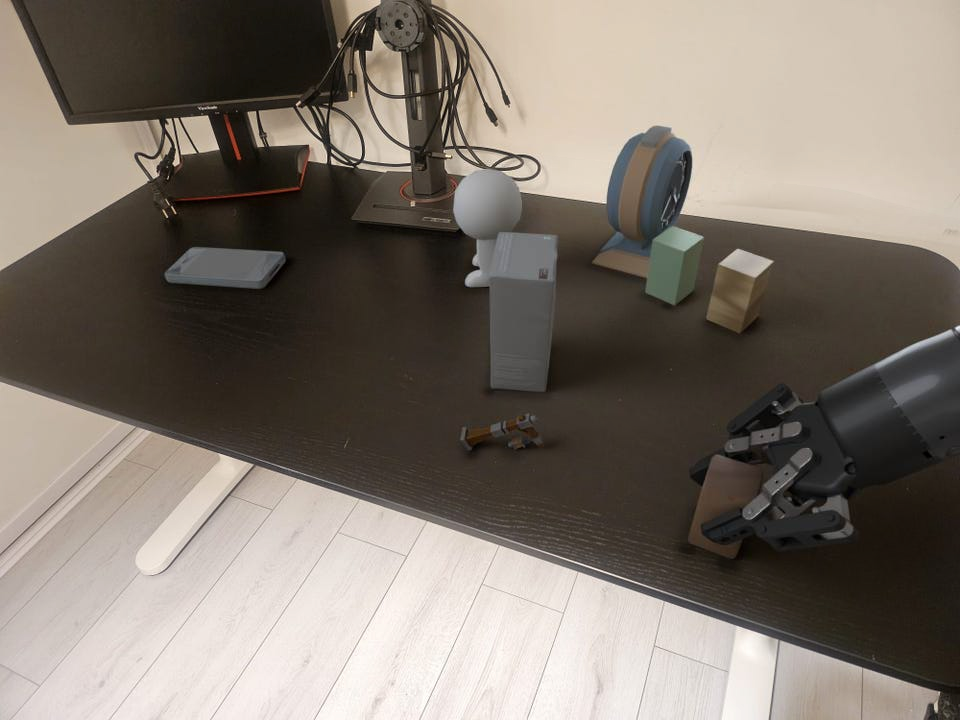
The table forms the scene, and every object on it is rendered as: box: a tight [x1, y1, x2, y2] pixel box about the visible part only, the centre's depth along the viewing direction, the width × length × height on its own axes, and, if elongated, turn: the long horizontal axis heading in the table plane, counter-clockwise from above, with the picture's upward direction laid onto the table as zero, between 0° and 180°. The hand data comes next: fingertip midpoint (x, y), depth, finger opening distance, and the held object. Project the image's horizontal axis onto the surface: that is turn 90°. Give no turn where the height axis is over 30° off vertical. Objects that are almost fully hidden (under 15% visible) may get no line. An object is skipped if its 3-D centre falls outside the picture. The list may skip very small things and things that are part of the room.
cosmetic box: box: [489, 231, 559, 393], centre depth 66 cm, size 8×7×16 cm
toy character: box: [452, 168, 523, 288], centre depth 82 cm, size 9×9×15 cm
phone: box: [163, 246, 287, 290], centre depth 91 cm, size 8×16×1 cm, turn 78°
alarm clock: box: [591, 125, 693, 279], centre depth 83 cm, size 14×10×18 cm
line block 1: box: [644, 225, 705, 306], centre depth 78 cm, size 4×4×8 cm
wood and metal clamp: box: [460, 413, 544, 452], centre depth 61 cm, size 2×8×4 cm, turn 84°
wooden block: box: [687, 455, 764, 560], centre depth 51 cm, size 4×4×8 cm
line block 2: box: [705, 248, 775, 334], centre depth 73 cm, size 4×4×8 cm
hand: (701, 505), depth 51 cm, fingers closed on wooden block, 5 cm apart
